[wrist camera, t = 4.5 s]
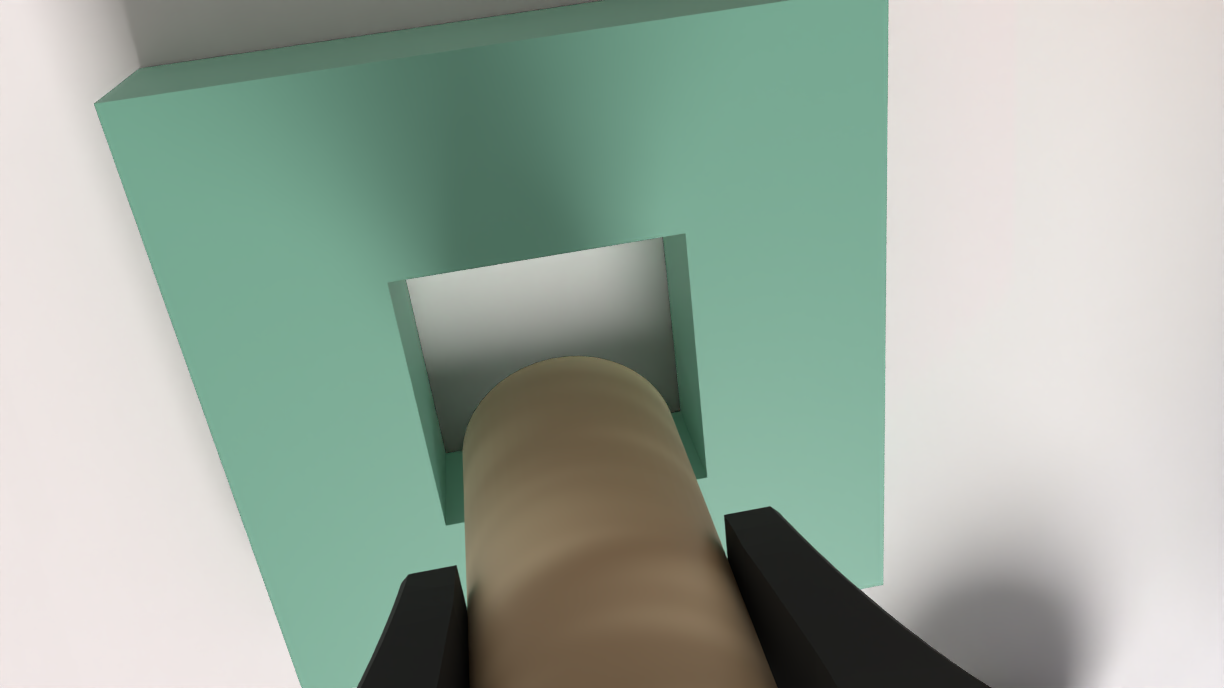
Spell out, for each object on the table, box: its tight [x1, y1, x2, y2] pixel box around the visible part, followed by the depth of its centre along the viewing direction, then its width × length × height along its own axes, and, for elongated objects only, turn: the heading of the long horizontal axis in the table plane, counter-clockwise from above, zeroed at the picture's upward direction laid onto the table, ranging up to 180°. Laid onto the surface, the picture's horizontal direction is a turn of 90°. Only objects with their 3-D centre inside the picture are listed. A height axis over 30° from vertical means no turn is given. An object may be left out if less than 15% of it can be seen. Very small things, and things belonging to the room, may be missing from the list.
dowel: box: [462, 356, 777, 688], centre depth 12 cm, size 3×3×9 cm
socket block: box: [94, 0, 888, 688], centre depth 19 cm, size 12×12×2 cm
